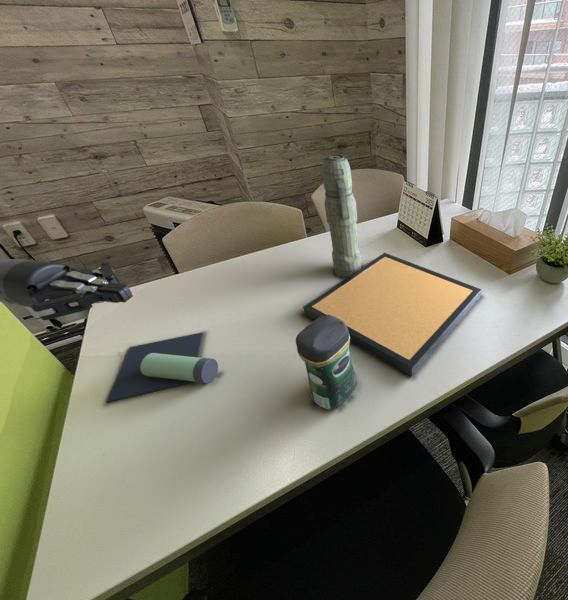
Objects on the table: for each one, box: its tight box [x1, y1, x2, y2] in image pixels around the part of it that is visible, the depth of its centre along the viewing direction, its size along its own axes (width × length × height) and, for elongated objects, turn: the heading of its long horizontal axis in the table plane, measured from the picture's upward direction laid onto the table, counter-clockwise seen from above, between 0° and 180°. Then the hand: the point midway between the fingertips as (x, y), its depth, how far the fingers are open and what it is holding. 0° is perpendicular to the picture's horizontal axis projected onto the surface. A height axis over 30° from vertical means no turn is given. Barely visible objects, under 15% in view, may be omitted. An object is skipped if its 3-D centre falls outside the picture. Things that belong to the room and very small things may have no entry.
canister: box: [140, 353, 219, 384], centre depth 70 cm, size 5×5×14 cm
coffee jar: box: [295, 314, 358, 410], centre depth 63 cm, size 10×8×19 cm
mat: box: [106, 332, 204, 404], centre depth 75 cm, size 16×16×1 cm
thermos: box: [321, 154, 363, 279], centre depth 94 cm, size 9×12×35 cm
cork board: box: [302, 252, 483, 377], centre depth 90 cm, size 36×3×35 cm
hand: (126, 294), depth 50 cm, fingers closed
